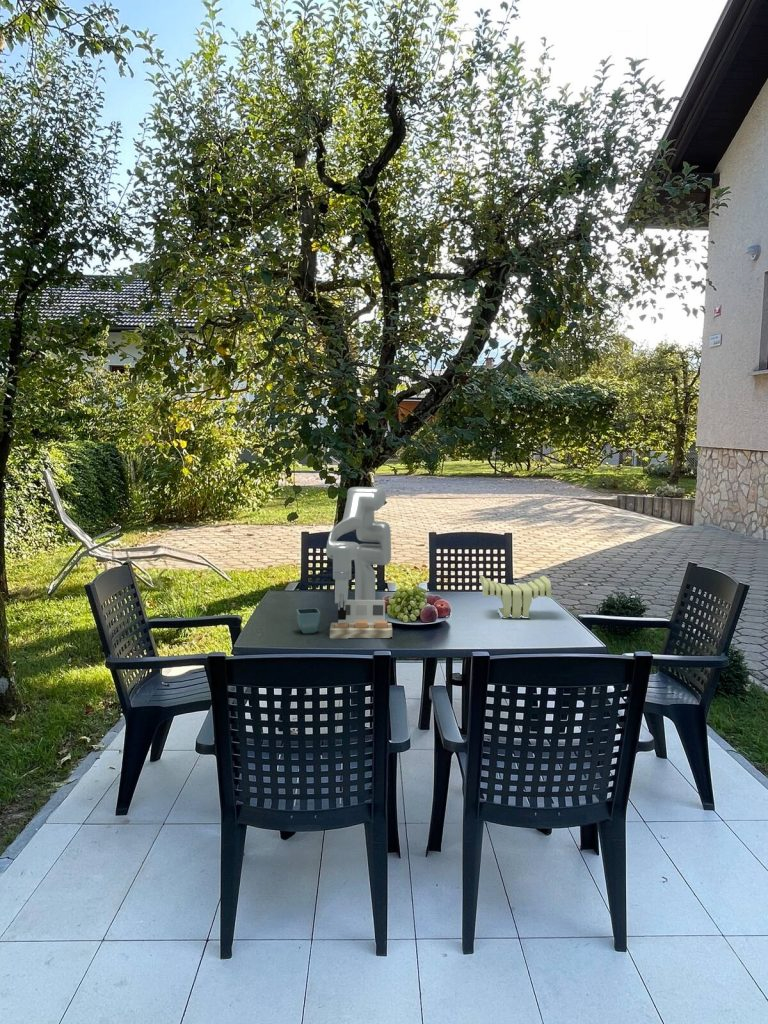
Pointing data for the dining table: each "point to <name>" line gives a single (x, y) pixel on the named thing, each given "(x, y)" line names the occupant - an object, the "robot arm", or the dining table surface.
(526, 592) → the slatted curved stool
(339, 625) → the key
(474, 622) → the dining table surface
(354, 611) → the pattern sign
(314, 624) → the flower pot
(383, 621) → the key
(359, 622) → the middle key
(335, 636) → the key board
